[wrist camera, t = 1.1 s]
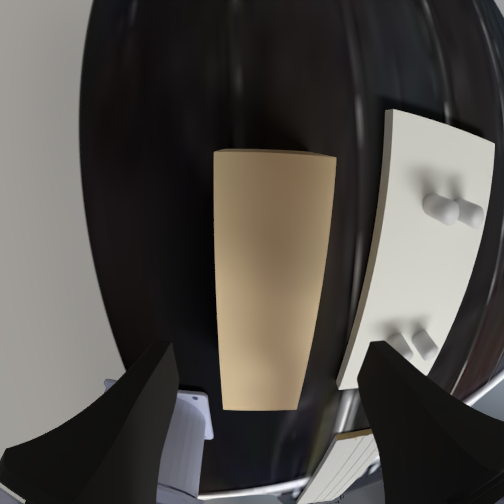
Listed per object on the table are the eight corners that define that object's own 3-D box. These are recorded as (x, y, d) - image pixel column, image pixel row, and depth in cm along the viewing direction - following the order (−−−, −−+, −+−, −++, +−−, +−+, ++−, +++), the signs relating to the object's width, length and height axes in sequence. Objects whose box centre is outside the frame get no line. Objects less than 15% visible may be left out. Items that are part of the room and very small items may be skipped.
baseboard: (409, 415, 25) (334, 430, 25) (417, 432, 22) (338, 450, 22) (344, 491, 36) (295, 498, 36) (346, 502, 34) (296, 510, 34)
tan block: (228, 355, 19) (223, 409, 15) (226, 148, 14) (213, 151, 9) (288, 355, 19) (296, 409, 15) (308, 151, 14) (336, 157, 9)
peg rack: (335, 381, 20) (344, 408, 18) (385, 110, 13) (412, 106, 10) (422, 368, 20) (435, 389, 18) (485, 142, 13) (514, 147, 10)
